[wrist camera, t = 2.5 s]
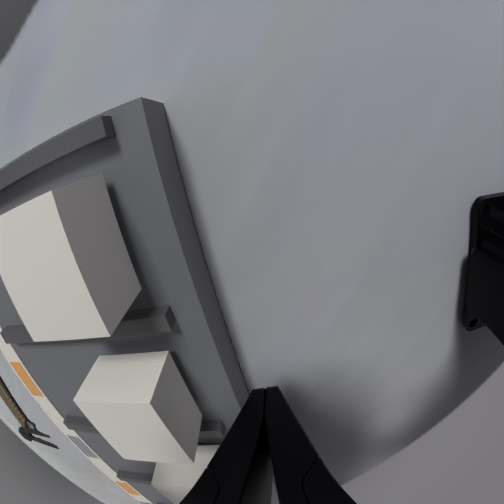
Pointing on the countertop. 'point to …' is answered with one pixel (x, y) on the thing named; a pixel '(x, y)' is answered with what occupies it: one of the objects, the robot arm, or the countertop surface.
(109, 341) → the switch bank
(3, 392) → the claw hammer
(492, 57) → the countertop surface
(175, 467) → the white rectangular block
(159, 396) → the tab
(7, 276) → the white rectangular block
